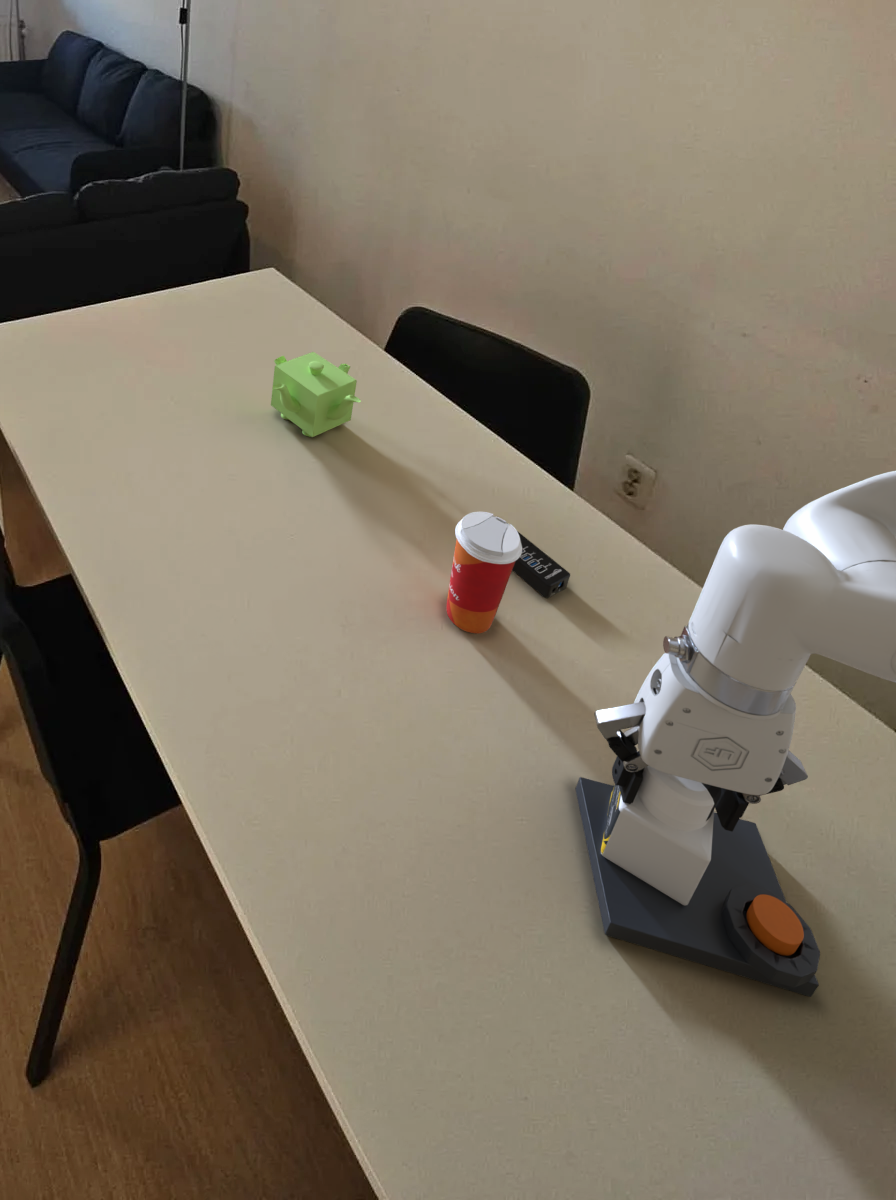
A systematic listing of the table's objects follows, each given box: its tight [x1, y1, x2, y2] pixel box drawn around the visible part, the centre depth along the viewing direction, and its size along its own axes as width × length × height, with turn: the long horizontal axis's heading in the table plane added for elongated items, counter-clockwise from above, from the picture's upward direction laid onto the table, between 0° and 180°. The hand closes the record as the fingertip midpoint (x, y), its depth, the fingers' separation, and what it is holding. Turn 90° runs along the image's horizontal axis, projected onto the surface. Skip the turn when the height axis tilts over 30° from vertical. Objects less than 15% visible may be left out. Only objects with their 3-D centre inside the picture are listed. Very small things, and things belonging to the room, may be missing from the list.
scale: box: [575, 776, 821, 998], centre depth 72 cm, size 16×14×4 cm
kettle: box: [270, 351, 362, 438], centre depth 135 cm, size 15×14×11 cm
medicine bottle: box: [601, 750, 722, 906], centre depth 72 cm, size 7×7×12 cm
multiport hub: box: [506, 521, 571, 599], centre depth 108 cm, size 4×11×2 cm, turn 28°
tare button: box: [747, 894, 804, 956], centre depth 67 cm, size 4×4×2 cm
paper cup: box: [445, 511, 522, 634], centre depth 97 cm, size 8×8×14 cm
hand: (671, 799), depth 71 cm, fingers closed on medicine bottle, 7 cm apart
